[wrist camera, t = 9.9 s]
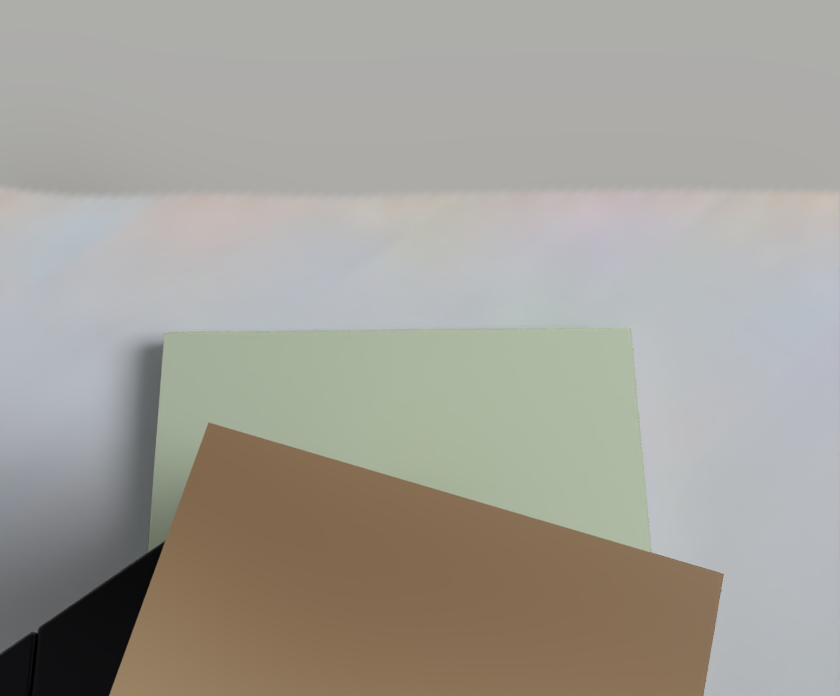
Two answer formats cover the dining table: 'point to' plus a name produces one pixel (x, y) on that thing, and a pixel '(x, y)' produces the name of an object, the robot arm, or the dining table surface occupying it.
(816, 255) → the dining table surface
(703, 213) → the dining table surface
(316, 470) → the oak block
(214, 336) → the sage mat
